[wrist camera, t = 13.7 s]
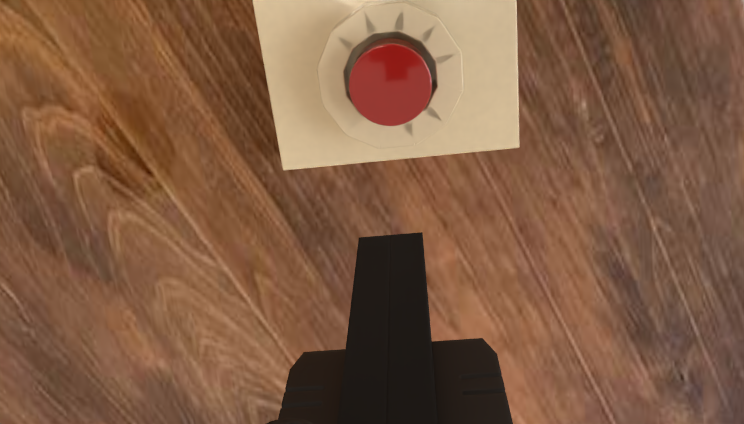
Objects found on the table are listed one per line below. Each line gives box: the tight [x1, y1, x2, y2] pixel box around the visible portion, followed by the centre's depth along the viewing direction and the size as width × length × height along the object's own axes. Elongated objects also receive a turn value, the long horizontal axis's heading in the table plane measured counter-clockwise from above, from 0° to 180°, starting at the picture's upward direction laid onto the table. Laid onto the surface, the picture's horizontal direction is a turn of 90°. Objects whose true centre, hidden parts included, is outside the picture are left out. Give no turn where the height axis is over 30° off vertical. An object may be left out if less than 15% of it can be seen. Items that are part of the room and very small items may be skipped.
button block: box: [252, 0, 520, 170], centre depth 31 cm, size 12×9×4 cm
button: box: [349, 37, 432, 126], centre depth 28 cm, size 4×4×2 cm
